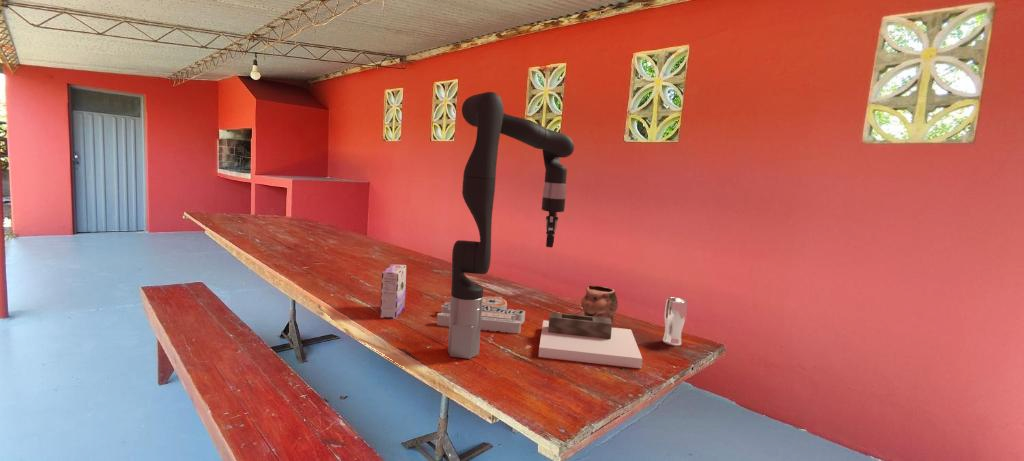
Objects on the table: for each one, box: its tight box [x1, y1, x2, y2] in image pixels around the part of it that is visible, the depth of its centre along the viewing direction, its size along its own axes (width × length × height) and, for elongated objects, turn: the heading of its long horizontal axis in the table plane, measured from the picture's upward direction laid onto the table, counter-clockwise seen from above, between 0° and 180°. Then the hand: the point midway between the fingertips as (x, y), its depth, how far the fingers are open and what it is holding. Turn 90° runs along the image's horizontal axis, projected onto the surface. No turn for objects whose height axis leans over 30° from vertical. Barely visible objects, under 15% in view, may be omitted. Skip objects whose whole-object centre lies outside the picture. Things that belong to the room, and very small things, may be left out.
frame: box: [548, 311, 613, 339], centre depth 161 cm, size 20×6×5 cm, turn 84°
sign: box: [436, 296, 526, 334], centre depth 181 cm, size 30×4×30 cm
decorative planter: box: [580, 285, 619, 323], centre depth 180 cm, size 20×12×14 cm, turn 148°
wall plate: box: [538, 320, 643, 369], centre depth 157 cm, size 26×30×6 cm
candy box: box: [379, 263, 407, 320], centre depth 176 cm, size 14×6×16 cm, turn 0°
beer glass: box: [662, 296, 688, 347], centre depth 166 cm, size 7×7×15 cm
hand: (549, 245), depth 165 cm, fingers open, 8 cm apart
